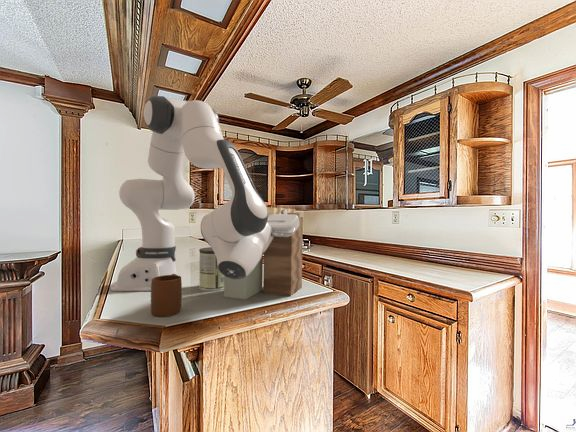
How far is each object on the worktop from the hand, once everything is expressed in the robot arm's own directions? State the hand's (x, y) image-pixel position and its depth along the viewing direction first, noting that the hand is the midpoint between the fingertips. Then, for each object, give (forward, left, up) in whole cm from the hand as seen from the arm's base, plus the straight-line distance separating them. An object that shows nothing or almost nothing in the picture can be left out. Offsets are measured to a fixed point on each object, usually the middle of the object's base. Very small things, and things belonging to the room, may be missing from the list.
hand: (274, 211), depth 91 cm
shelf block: (-9, +7, -28) cm, 30 cm away
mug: (-31, -5, -28) cm, 42 cm away
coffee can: (-19, +17, -28) cm, 38 cm away
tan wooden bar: (+3, +4, -2) cm, 6 cm away
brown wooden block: (+5, +8, -28) cm, 29 cm away
